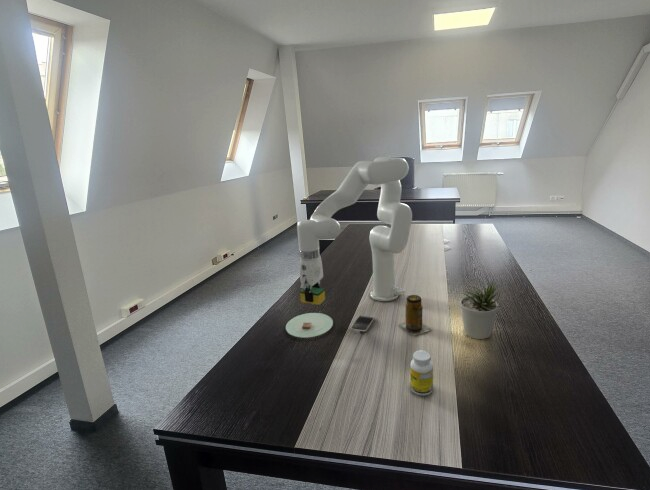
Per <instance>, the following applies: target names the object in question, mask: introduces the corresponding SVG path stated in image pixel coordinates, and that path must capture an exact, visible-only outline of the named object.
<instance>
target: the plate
mask: <svg viewBox="0 0 650 490" xmlns="http://www.w3.org/2000/svg"><path fill="white" fill-rule="evenodd" d="M303 323H311V328H310V329H302V326H303ZM333 325H334V320H333V318H332V317H331V316H329V315H327V314H324V313H321V312H307V313H303V314H299V315H296V316H295V317H292V318H291V319H290V320H288V321H287V323H286V325H285V331H286V332H287V333H288V335H291V336H293V337H296V338H313V337H317V336H321V335H323V334H325V333H327V332H328V331H330V329H331V328H332V327H333Z"/></svg>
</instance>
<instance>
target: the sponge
mask: <svg viewBox="0 0 650 490" xmlns="http://www.w3.org/2000/svg"><path fill="white" fill-rule="evenodd" d="M307 288H309V286H307ZM312 292H313V302H307V301H305V292H304V291H303V290H302V289H300V290H299V296H300V303H305V304H311V305H318V306H320V305H321V304H322V303H323V302H325V300H326V292H325V288H322V287H320V288H316V287H312Z"/></svg>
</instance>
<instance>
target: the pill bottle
mask: <svg viewBox="0 0 650 490" xmlns="http://www.w3.org/2000/svg"><path fill="white" fill-rule="evenodd" d="M409 368H410V372H409V373H410V390H411V391H412V393H414V394H415V395H417V396H428V395H430V394H431V393H432V392H433V389H434V364H433V361H432V360H431V353H429V352H428V351H427V350H421V349H420V350H415V351H414V352H413V355H412V359H411V361H410V367H409Z"/></svg>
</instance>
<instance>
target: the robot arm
mask: <svg viewBox="0 0 650 490" xmlns="http://www.w3.org/2000/svg"><path fill="white" fill-rule="evenodd" d="M409 169H410V167H409V164H408V161H406V159H405V158H403V157H395V156H378V157H376V158H375V159H374V160H360V161H357V162H355V164H354V165H353V166H352V168H351V169H350V171H349V172H348V173H347V175H346V176H345V178H344V180H343V181H342V182H341V184H340V185H339V187H338V188H337V190H335V191H334V192H333V193H331V194H330V195H329V196H327V197H326V198H325V199H324V200H322V201H321V202H320V204H319V205H318V206H317V207H316V208H315V210H314V212H313V213H312V214H311V216H310V218H309V219H304V220H300V221H298V222H297V224H296V232H297V242H298V243H297V244H298V254H299V281H300V290H303V291H304V292H305V301H307V302H313V292H312V287H316V288H321V280H322V279H323V278H324V268H323V262H322V258H321V253H320V240H328V239H333V238H336V237H337V236H338V235H340V233H341V224H340V223H339V221H337V220H336V219H334V218H332V217H333V215H334V214H335V213H337V212H338V211H340V210H341V209H344V208H346V207H350V206H352V205H355V204H356V202H357V201H358V200H359V199H360V197H361V195H363V192H364V191H365V189H366V188H367V186H368V185H375V186H377V185H380V193H379V194H380V195H379V200H378V205H377V212H376V216H377V219H378V220H379V222H381V223H384V224H388V225H390V227H389V226H386V225H375V226H373V228H372V229H371V230H370V232H369V237H368V238H369V239H368V240H369V245H370V251H371V256H372V257H371V258H372V283H373V286H372V287H373V289H372V290H371V291H370V292H369V294H370V295H369V296H370V298H372V299H373V300H374V301H378V302H391V301H394V300H395V299H397V298H399V295H400V296H405V290H404V288H399V287H398V284H396V270H395V269H396V268H395V267H396V264H395V263H396V261H395V255H396V254H401V253H403V251H404V250H405V249H406V248H407V245H408V242H409V237H410V232H411V227H412V222H413V211H412V209H411V207H410V206H409V205H408V204H406V203H403V202H401V197H402V192H403V191H402V189H403V188H402V184H401V180H403V179H404V178H405V177H406V176H407V175H408V174H409ZM307 286H308V287H309V288H307Z"/></svg>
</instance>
